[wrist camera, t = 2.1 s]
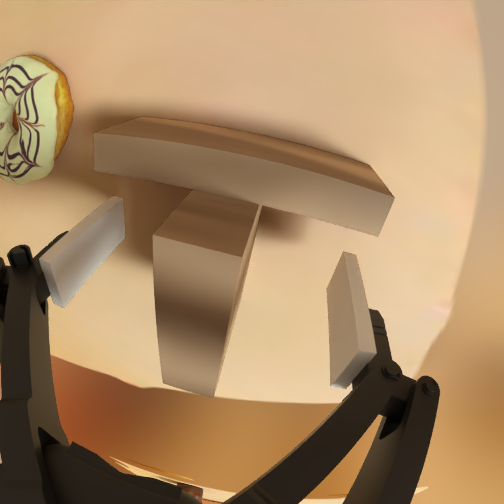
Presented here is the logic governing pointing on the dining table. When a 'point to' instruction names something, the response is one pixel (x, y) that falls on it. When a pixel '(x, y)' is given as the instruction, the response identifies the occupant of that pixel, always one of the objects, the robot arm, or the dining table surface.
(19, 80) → the decorated donut
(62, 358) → the dining table surface
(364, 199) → the pusher
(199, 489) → the food container
